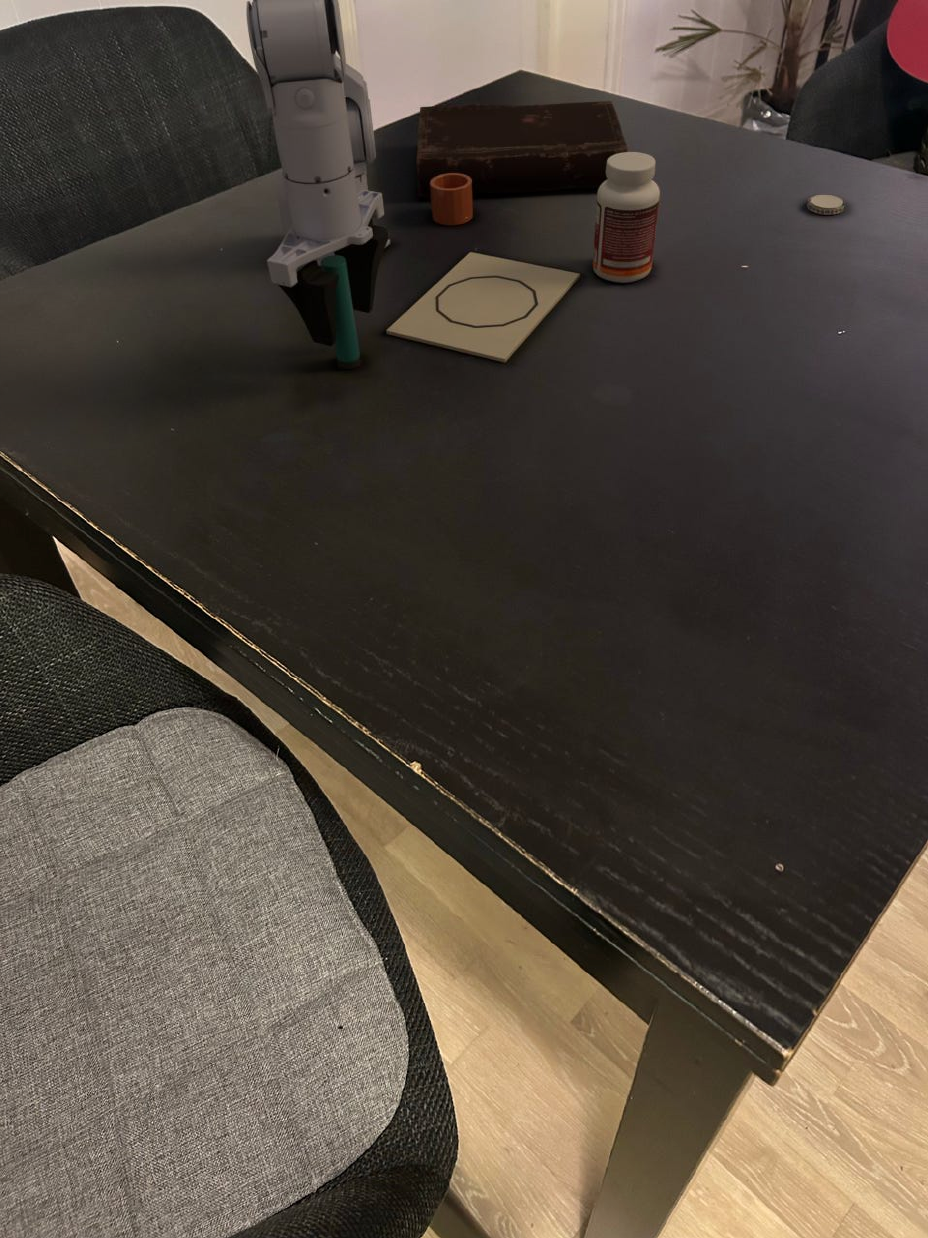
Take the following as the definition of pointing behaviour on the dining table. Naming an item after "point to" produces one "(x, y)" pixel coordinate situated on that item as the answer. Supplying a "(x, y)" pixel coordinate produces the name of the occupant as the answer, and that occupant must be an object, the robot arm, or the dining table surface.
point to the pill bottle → (626, 218)
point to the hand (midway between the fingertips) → (343, 325)
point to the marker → (343, 314)
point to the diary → (518, 145)
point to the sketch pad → (484, 306)
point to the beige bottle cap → (826, 204)
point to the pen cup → (451, 199)
